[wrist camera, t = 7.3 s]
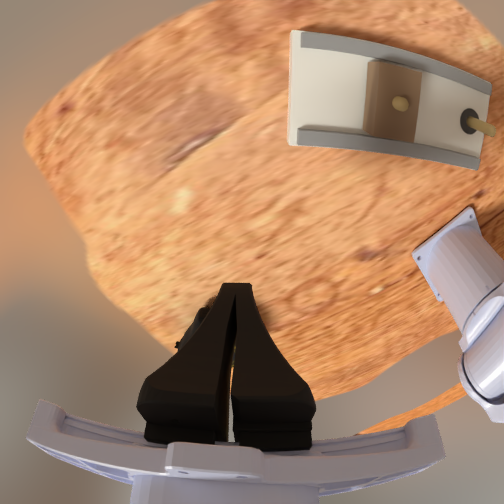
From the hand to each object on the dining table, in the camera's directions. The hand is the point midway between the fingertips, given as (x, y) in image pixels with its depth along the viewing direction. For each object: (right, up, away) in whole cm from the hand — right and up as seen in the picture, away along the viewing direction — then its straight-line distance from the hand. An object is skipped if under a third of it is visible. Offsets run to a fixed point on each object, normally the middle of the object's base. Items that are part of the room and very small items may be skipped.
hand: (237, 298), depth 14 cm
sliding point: (+10, +12, +2) cm, 16 cm away
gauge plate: (+12, +13, +3) cm, 18 cm away
